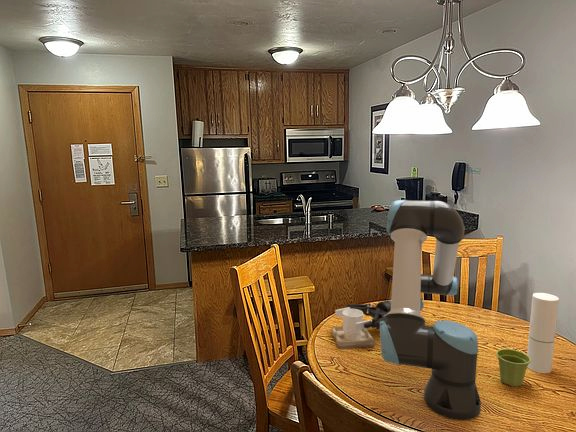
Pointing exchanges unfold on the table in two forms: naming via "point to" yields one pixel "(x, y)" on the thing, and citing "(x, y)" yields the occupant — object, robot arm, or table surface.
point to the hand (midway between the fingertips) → (345, 320)
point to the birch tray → (344, 343)
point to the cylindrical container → (542, 332)
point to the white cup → (352, 323)
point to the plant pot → (512, 366)
